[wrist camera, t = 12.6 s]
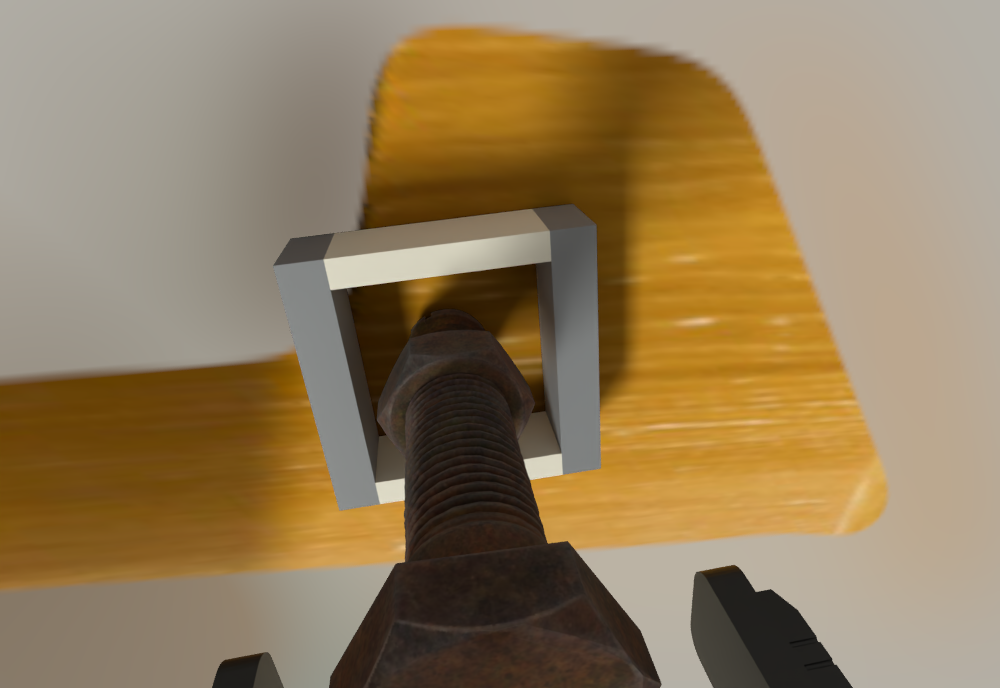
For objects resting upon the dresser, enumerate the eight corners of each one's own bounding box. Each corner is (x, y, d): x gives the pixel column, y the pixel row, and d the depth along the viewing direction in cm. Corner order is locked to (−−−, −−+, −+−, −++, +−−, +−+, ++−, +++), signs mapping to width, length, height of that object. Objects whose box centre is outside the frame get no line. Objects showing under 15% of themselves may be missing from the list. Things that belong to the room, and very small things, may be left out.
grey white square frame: (347, 461, 25) (339, 510, 22) (290, 238, 21) (273, 265, 18) (580, 425, 26) (600, 468, 23) (573, 203, 21) (596, 224, 19)
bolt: (520, 274, 22) (686, 601, 9) (522, 391, 25) (659, 791, 11) (362, 287, 22) (288, 658, 8) (380, 405, 24) (343, 848, 11)
